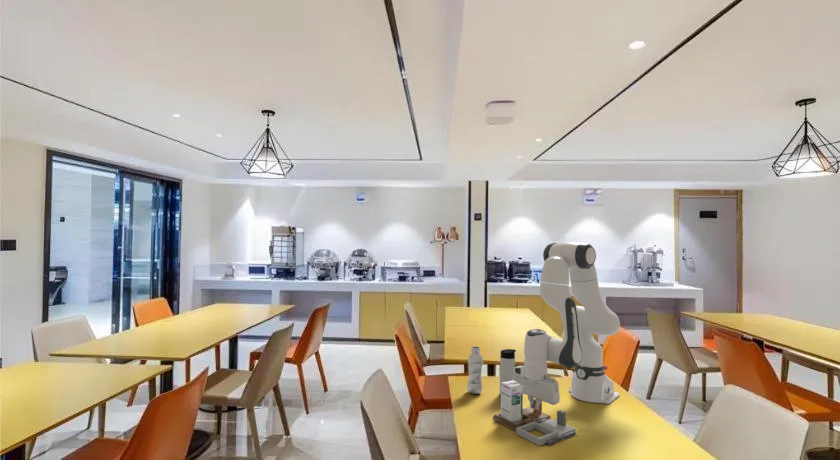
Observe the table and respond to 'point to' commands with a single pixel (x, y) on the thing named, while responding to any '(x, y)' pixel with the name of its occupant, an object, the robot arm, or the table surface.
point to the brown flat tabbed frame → (528, 417)
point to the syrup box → (512, 401)
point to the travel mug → (506, 365)
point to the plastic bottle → (475, 371)
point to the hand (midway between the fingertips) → (534, 408)
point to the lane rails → (557, 437)
